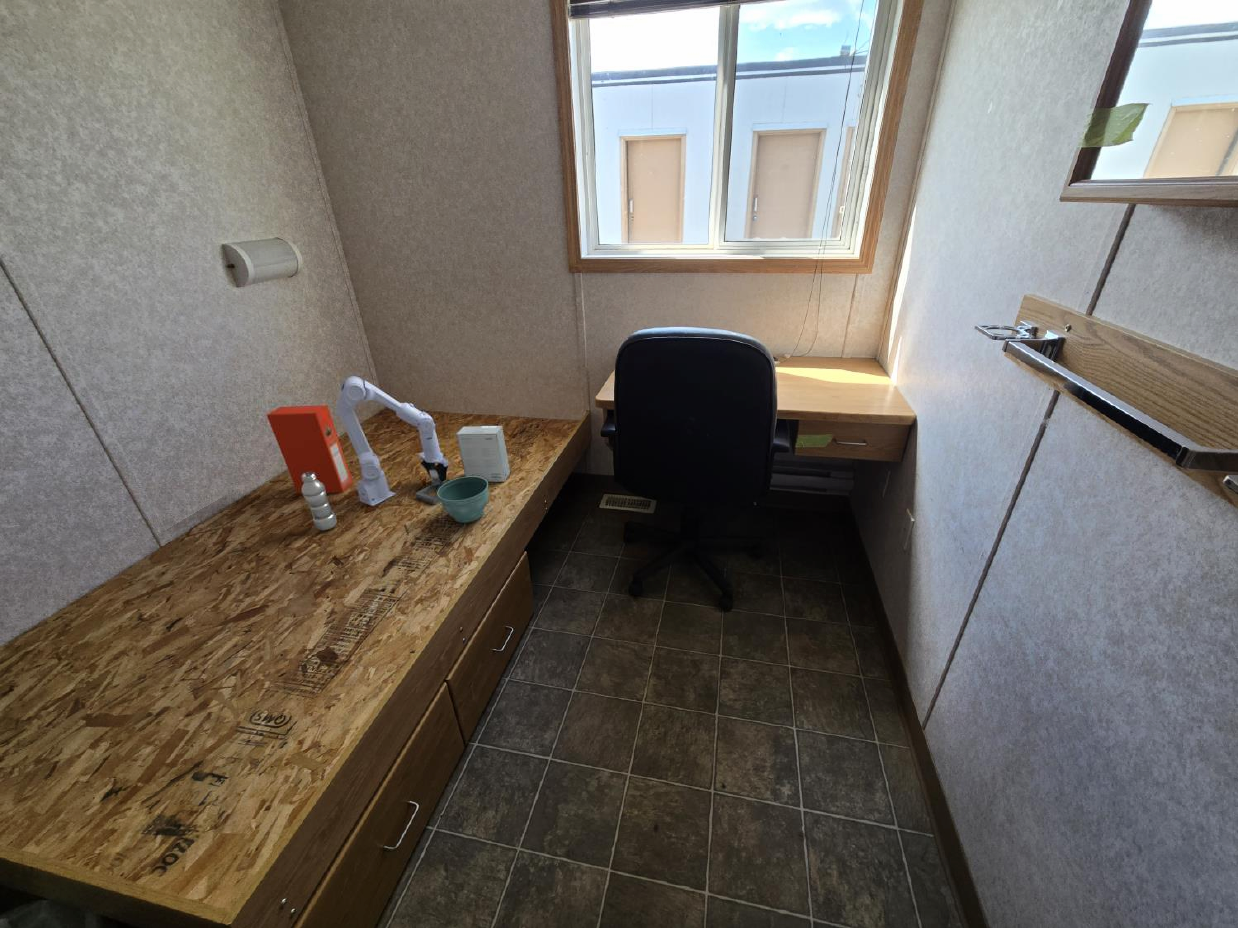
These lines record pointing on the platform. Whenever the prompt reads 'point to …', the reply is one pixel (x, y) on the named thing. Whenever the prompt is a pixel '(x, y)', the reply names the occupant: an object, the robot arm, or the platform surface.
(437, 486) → the grey rectangular frame
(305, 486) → the plastic bottle
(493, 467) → the hard drive box
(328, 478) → the file binder
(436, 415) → the platform surface
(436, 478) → the shiny metal cylinder
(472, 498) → the flower pot
